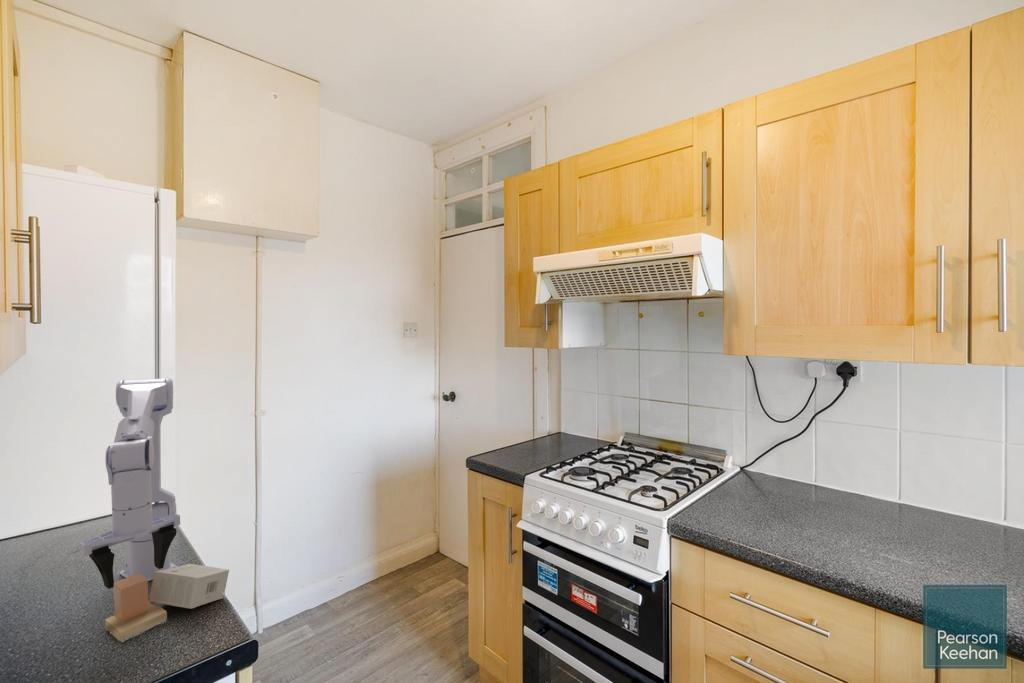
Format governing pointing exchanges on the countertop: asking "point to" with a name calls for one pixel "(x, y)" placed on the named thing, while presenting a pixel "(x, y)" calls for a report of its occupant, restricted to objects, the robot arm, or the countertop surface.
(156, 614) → the base slab
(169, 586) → the small box
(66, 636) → the countertop surface
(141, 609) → the block
